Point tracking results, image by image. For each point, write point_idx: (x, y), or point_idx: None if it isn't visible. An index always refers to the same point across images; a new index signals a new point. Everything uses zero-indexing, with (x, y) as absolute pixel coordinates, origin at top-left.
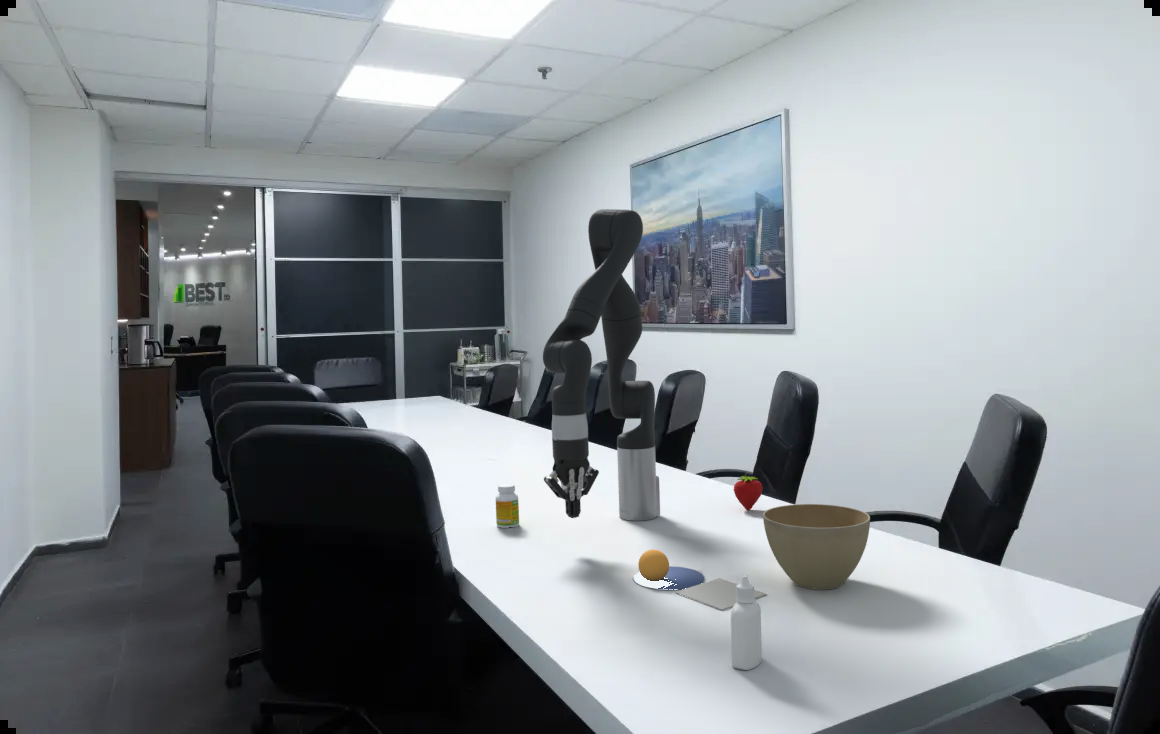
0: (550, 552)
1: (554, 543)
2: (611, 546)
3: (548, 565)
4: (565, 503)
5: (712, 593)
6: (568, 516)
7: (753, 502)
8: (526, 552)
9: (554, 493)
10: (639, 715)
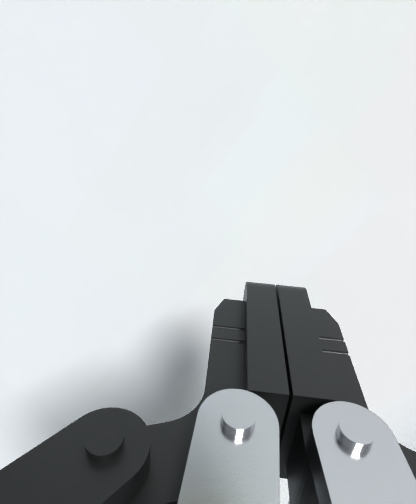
0: (141, 169)
1: (262, 34)
2: (403, 298)
3: (42, 302)
4: (207, 371)
5: None
6: (245, 285)
7: None
8: (39, 71)
9: (10, 464)
10: None
